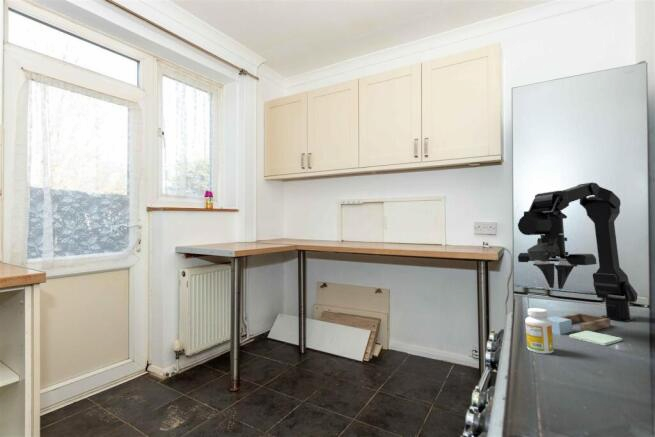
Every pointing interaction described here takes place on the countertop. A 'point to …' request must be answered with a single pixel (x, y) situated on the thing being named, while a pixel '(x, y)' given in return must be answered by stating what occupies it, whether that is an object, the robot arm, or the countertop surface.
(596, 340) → the mat
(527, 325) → the supplement bottle
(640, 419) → the countertop surface
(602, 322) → the u-shaped frame
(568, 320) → the block
